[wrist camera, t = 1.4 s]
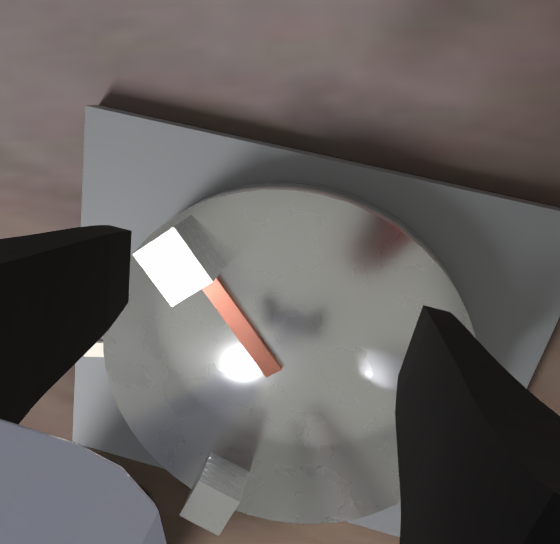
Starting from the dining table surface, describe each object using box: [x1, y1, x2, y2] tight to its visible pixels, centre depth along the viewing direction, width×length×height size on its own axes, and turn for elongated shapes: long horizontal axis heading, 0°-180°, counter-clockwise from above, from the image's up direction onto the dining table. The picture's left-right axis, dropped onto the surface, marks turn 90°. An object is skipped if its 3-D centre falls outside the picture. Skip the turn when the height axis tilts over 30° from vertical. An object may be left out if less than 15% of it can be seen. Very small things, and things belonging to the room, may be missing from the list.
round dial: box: [103, 181, 476, 536], centre depth 21 cm, size 16×16×4 cm
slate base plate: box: [73, 105, 560, 537], centre depth 23 cm, size 18×21×1 cm
